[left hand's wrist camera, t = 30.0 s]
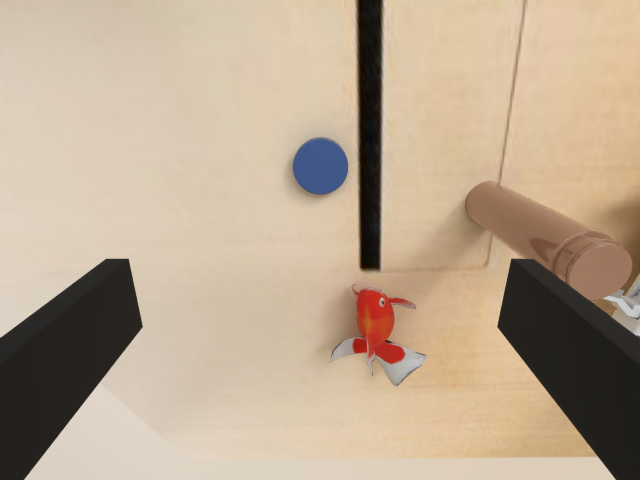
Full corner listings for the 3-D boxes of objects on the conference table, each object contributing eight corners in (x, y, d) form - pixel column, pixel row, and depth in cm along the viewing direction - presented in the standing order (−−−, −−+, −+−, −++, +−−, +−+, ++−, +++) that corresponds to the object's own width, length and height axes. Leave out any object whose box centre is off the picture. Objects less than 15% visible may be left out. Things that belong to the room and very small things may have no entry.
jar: (467, 182, 40) (571, 242, 24) (510, 180, 40) (645, 237, 24) (463, 223, 42) (558, 305, 25) (505, 220, 42) (628, 301, 25)
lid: (355, 175, 40) (357, 178, 38) (310, 198, 41) (309, 203, 39) (331, 127, 38) (332, 128, 36) (284, 153, 39) (283, 156, 37)
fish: (453, 280, 39) (439, 363, 33) (421, 349, 51) (406, 420, 44) (358, 252, 42) (328, 323, 35) (347, 323, 53) (323, 387, 47)
